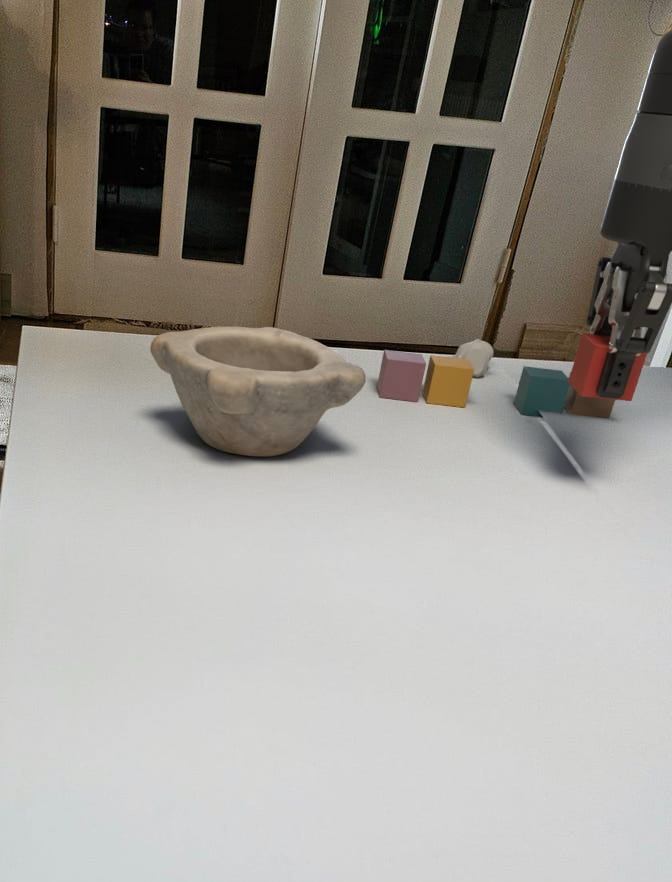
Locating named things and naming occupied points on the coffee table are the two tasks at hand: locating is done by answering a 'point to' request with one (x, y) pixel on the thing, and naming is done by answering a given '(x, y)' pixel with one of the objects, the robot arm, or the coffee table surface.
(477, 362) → the pale two-lobed sculpture
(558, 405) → the block
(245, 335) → the mortar
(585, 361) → the red block
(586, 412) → the block
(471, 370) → the block
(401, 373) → the block
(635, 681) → the coffee table surface
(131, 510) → the coffee table surface
